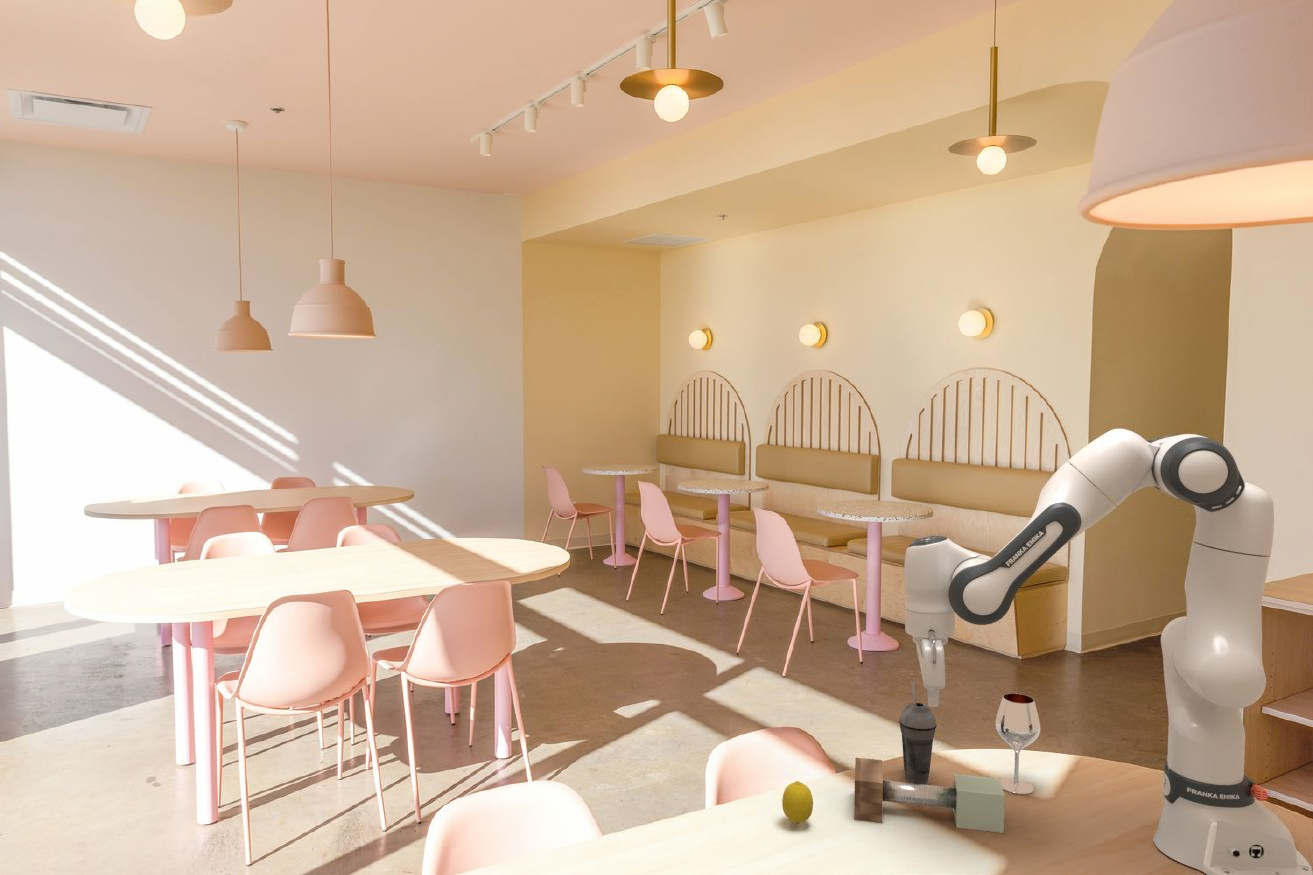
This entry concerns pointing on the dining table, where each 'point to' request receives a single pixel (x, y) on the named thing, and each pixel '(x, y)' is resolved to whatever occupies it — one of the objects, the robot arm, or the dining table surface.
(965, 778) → the sage green block
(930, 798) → the tube
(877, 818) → the socket
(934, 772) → the dining table surface
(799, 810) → the lemon
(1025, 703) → the wineglass
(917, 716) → the beverage cup
